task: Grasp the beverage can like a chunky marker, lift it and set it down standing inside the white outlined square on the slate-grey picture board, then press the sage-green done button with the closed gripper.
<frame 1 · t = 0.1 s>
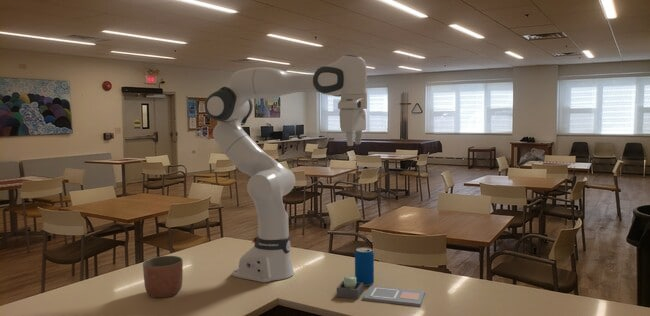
hand: (354, 145, 161), 48 cm above the table, fingers open, 8 cm apart
done button: (350, 282, 154), point 4 cm above the table, slide at 0.0 cm
picture board: (394, 296, 151), on the table
planter: (164, 293, 157), on the table
button housing: (350, 294, 154), on the table
beverage can: (364, 284, 164), on the table
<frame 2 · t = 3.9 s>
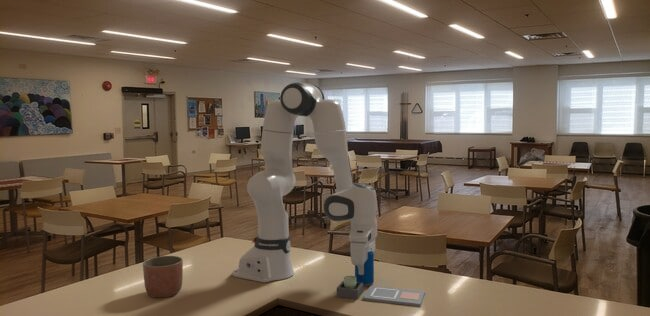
hand: (364, 270, 163), 5 cm above the table, fingers closed on beverage can, 6 cm apart
beverage can: (364, 284, 164), on the table, touching gripper
everything else where it was.
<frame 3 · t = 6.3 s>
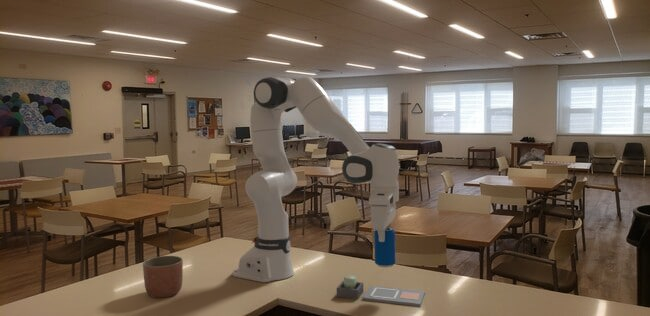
hand: (384, 238, 151), 19 cm above the table, fingers closed on beverage can, 6 cm apart
beverage can: (385, 265, 151), point 10 cm above the table, touching gripper
everything else where it was.
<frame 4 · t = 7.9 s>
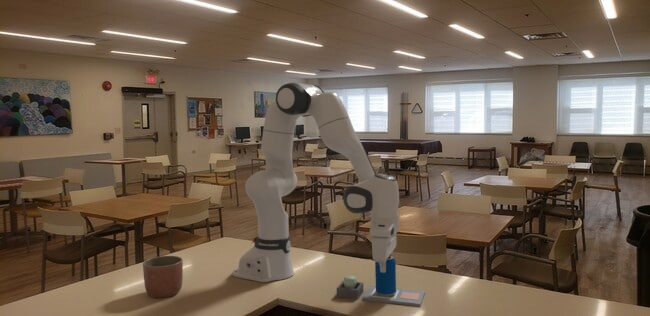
hand: (385, 268, 151), 9 cm above the table, fingers closed on beverage can, 6 cm apart
beverage can: (385, 293, 152), point 1 cm above the table, touching gripper, picture board
everything else where it was.
when the fingers open (6 cm above the table, at t = 9.5 s): beverage can stays where it is, resting on picture board.
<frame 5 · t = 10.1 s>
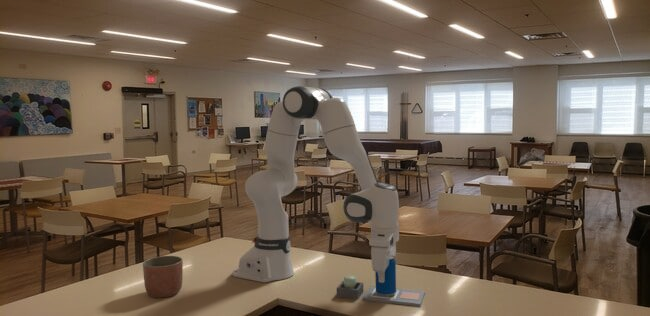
hand: (385, 277, 152), 6 cm above the table, fingers open, 8 cm apart
beverage can: (385, 293, 152), point 1 cm above the table, touching picture board
everything else where it was.
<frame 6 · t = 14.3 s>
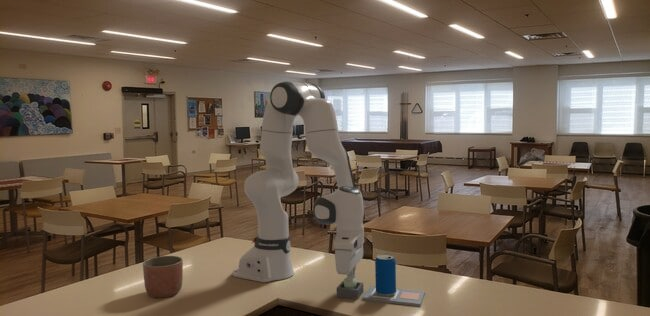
hand: (351, 279, 153), 5 cm above the table, fingers closed, pressing on done button
done button: (350, 284, 154), point 3 cm above the table, slide at 0.6 cm, touching gripper
everything else where it was.
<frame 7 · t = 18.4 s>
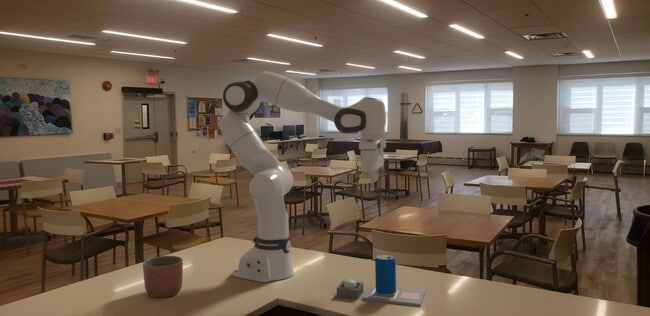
hand: (373, 181, 170), 34 cm above the table, fingers closed
done button: (350, 286, 154), point 3 cm above the table, slide at 1.2 cm
everything else where it was.
at the end: beverage can inside the target area (0.3 cm from its centre), point 0.7 cm above the table; beverage can tilted 1°; done button slide at 1.2 cm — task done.
